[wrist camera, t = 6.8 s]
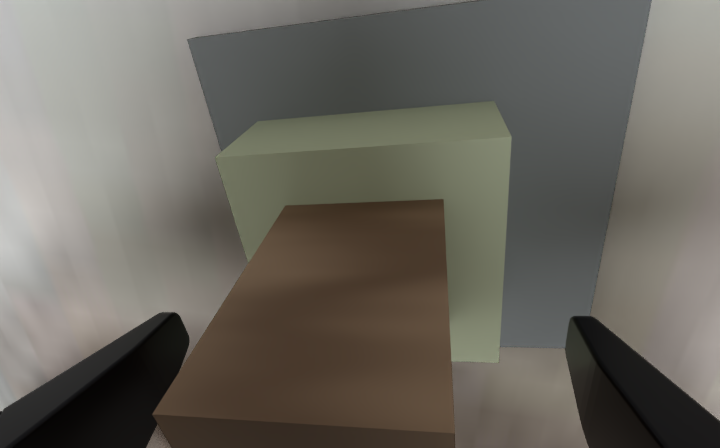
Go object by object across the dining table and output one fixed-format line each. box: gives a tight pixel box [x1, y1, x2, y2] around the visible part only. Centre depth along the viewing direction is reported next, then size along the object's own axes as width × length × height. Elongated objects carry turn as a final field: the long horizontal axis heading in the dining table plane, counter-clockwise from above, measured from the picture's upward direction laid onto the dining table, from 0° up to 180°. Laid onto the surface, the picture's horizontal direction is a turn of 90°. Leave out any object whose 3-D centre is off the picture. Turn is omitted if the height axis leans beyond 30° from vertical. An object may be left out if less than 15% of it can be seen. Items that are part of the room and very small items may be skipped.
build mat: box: [187, 0, 652, 348], centre depth 14 cm, size 12×12×1 cm
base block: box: [215, 101, 512, 363], centre depth 13 cm, size 7×7×3 cm
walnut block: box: [152, 199, 455, 448], centre depth 9 cm, size 4×4×6 cm
